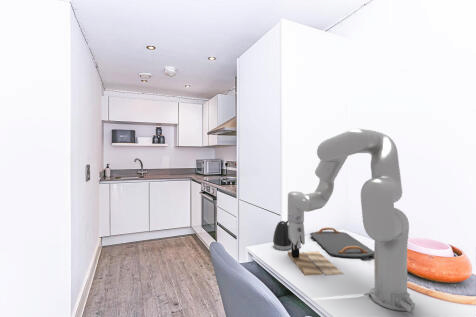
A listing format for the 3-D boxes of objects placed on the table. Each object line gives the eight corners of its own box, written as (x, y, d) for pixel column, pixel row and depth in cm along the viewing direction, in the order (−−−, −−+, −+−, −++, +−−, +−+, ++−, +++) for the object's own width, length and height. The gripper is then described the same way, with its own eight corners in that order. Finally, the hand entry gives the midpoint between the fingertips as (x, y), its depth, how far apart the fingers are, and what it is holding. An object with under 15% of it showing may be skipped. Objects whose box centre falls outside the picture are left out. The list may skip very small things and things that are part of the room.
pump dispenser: (296, 249, 129) (296, 220, 129) (285, 254, 122) (285, 224, 121) (280, 244, 136) (279, 217, 136) (269, 249, 129) (269, 221, 128)
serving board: (381, 261, 114) (381, 248, 114) (332, 262, 113) (332, 249, 113) (343, 235, 152) (343, 225, 152) (307, 235, 152) (307, 226, 152)
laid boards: (344, 276, 99) (344, 273, 99) (325, 278, 98) (325, 275, 98) (318, 253, 123) (318, 251, 123) (302, 254, 122) (302, 252, 122)
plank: (323, 276, 99) (323, 273, 99) (304, 275, 98) (305, 272, 98) (302, 255, 121) (303, 252, 121) (287, 253, 120) (287, 251, 120)
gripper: (310, 222, 106) (309, 263, 107) (297, 214, 121) (297, 250, 121) (293, 223, 105) (293, 264, 106) (282, 214, 120) (282, 250, 120)
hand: (295, 256), depth 113 cm, fingers closed
